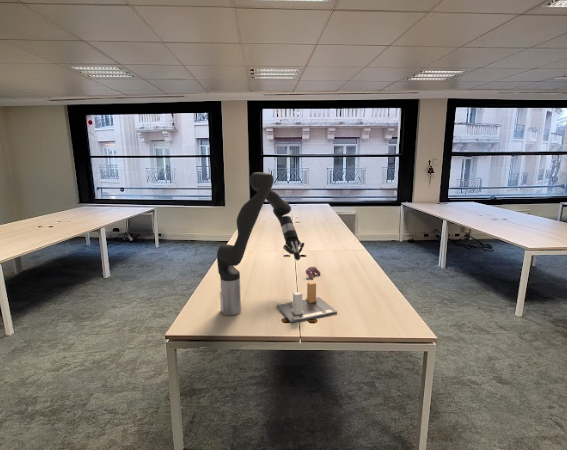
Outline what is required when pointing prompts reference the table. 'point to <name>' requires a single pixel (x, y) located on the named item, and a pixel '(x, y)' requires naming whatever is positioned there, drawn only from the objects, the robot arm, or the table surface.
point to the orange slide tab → (311, 292)
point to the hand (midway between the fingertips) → (298, 259)
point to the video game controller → (313, 270)
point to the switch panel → (307, 310)
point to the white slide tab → (297, 303)
